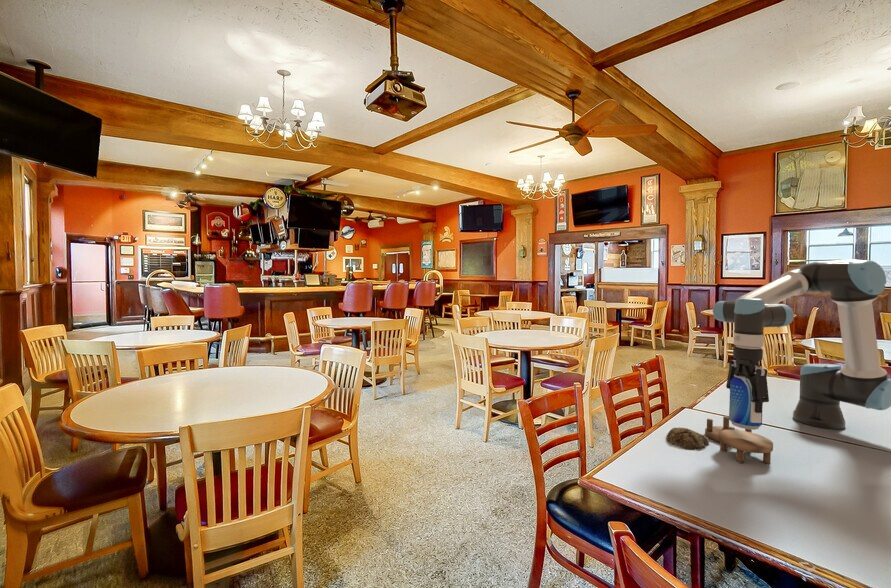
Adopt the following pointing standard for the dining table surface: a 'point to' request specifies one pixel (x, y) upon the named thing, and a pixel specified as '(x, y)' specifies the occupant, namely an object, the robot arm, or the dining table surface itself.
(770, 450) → the footstool
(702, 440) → the bread roll
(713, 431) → the upturned footstool
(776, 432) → the dining table surface
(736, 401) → the beer can
